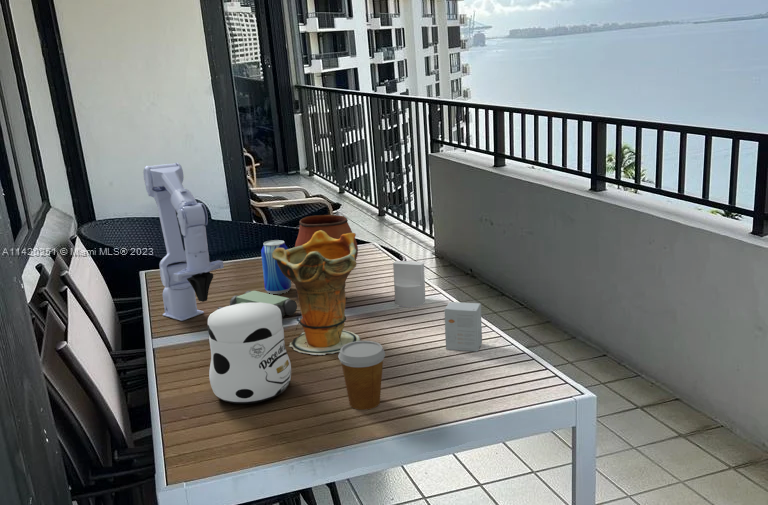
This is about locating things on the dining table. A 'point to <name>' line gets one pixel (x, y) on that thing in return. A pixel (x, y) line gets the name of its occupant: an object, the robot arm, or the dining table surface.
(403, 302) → the cylinder with rectangular tab
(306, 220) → the terracotta pot
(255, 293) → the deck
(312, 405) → the dining table surface
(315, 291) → the decorative vase
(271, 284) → the beer can
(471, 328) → the small box
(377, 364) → the disposable coffee cup
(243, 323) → the milk container
